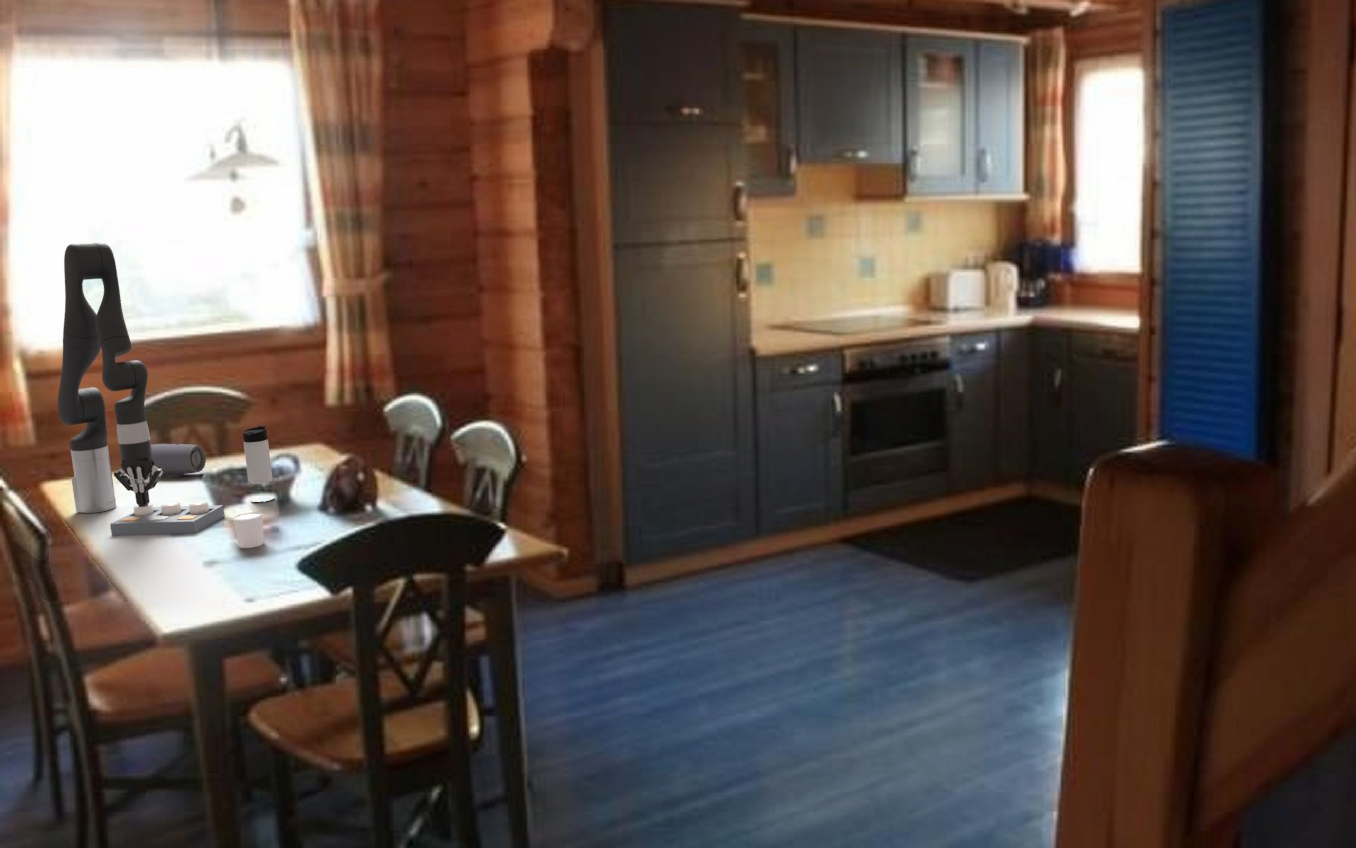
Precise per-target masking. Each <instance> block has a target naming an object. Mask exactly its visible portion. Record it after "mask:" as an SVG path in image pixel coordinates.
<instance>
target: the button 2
mask: <svg viewBox="0 0 1356 848" xmlns="http://www.w3.org/2000/svg"><path fill="white" fill-rule="evenodd" d="M188 506H189V510H190V514H206V513H207V512H209V507H208V506H209V502H207V501H196V502H192V503H189V504H188Z"/></svg>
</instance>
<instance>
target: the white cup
mask: <svg viewBox="0 0 1356 848" xmlns="http://www.w3.org/2000/svg"><path fill="white" fill-rule="evenodd" d="M263 515H264V514H263V513H262V512H248V513H243V514H238V515H235V516H233V517H232V523H233V527H234V531H235V535H236V541H237V545H238V547H239V548H241V549H249V548H257V547H261V546H262V545H264V517H263Z"/></svg>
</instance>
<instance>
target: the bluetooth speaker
mask: <svg viewBox="0 0 1356 848" xmlns="http://www.w3.org/2000/svg"><path fill="white" fill-rule="evenodd" d="M151 449H152V460H153V461H154V463H155V466H156V467H157V468H159V469H161V468H162V469H163V470H164V472H163V474H162V476H161V477H160V478H179V477H180V478H181V477H183V476H184V475H186V474H187V475H188V474H196V473H200V472H201V471H203V469H204V468H205V466H206V462H207V461H206V460H207V457H206V453H205V450H204V448H203V447H202V446H201V445H197V444H187V443H186V444H184V443H154V444H153V443H151ZM152 476H153V475H152V472H151V473H150V475H149V478H151V477H152Z"/></svg>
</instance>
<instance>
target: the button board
mask: <svg viewBox="0 0 1356 848" xmlns="http://www.w3.org/2000/svg"><path fill="white" fill-rule="evenodd" d="M208 507H209V512H207V513H206V514H190V510H189V505H188V506H181V513H179V514H177V515H162V510H161V506H158V507H157V506H155V507H154V506H153V511H154V513H153V514H151V515H149V516H134V511H133V512H132V513H129V514H127V515H125V516H123V517H121V518H118V519H117V520H116V521H113V522H111V523H110V524H109V526H110V532H111V536H136V535H135V534H144V535H171V534H172V535H173V534H175V535H177V534H196V533H198V532H200V531H201V530H203V529H205V528H207V527H208V526H210V525H212V524H214V523H216V522H217V521H220V520H221V519H223V518H224V517H223V515H224V516H225V510H224V505H223V504H221V505H219V504H218V505H217V504H215V505H208Z"/></svg>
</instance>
